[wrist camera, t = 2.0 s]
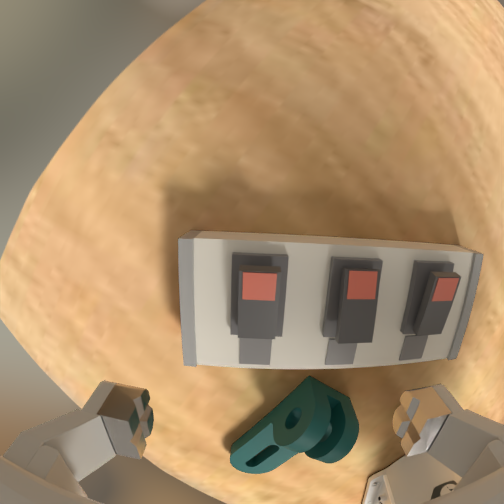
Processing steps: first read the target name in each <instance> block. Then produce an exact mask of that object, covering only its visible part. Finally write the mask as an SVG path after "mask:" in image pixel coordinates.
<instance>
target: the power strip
mask: <svg viewBox="0 0 504 504" xmlns="http://www.w3.org/2000/svg"><path fill="white" fill-rule="evenodd" d="M482 260H483V254H482V253H479V252H477V251H474V250H471V249H469V248H466V247H463V246H461V245H449V244H436V243H423V242H409V241H394V240H379V239H363V238H346V237H329V236H310V235H291V234H270V233H247V232H223V231H195V230H190V231H189V232H187V233H186V234H184V235H183V236H181V237H180V238H178V263H179V295H180V316H181V333H182V348H183V361H184V365H185V366H194V367H196V366H197V364H198V365H209V366H222V367H237V368H258V369H340V368H360V367H375V366H387V365H398V364H407V363H416V362H424V361H432V360H439V359H445V358H447V359H448V360H452V359H456V358H457V355H458V352H459V349H460V346H461V343H462V340H463V337H464V334H465V331H466V327H467V324H468V321H469V317H470V313H471V310H472V306H473V302H474V298H475V294H476V289H477V285H478V280H479V276H480V271H481V265H482ZM240 265H255V266H279V267H281V282H280V293H279V304H278V315H277V325H276V335H275V339H252V338H238V288H239V266H240ZM342 268H365V269H378V270H381V273H380V284H379V294H378V303H377V311H376V319H375V326H374V333H373V339H372V343H346V344H338V343H337V342H336V340H335V335H336V327H337V318H338V308H339V298H340V287H341V274H342ZM430 272H456V273H457V274H459V275H460V276H461V280H460V283H459V286H458V289H457V292H456V295H455V298H454V301H453V304H452V307H451V310H450V312H449V315H448V318H447V320H446V323H445V325H444V328H443V330H442V333H441V334H435V335H423V336H416V335H415V333H414V332H413V330H412V329H413V327H414V324H415V321H416V318H417V315H418V312H419V309H420V306H421V303H422V300H423V296H424V293H425V290H426V286H427V283H428V279H429V276H430Z"/></svg>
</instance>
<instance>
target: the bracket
mask: <svg viewBox="0 0 504 504" xmlns="http://www.w3.org/2000/svg"><path fill="white" fill-rule="evenodd" d="M358 433H359V422H358V419H357V417H356V414H355V411H354V409H353V406H352V404H351V401H350V398H349V397H347V396H345V395H343V394H342V393H340V392H338V391H336V390H334V389H332V388H331V387H329V386H327V385H325V384H323V383H322V382H320V381H318V380H316V379H315V378H313V377H311V376H308V377H307V378H306V379H305V380H304V381H303V382H302V383H301V384H300V385H299V386H298V387H297V388H296V389H295V390H294V391H292V392H291V393H290V394H289V395H288V396H287V397H286V398H285V399H284V400H283V401H282V402H281V403H280V404H279V405H277V406H276V407H275V408H274V409H273V410H272V411H271V412H270V413H269V414H267V415H266V416H265V417H264V418H263V419H262V420H261V421H259V422H258V423H257V424H256V425H255V426H254V427H252V428H251V429H250V430H249V431H248V432H246V433H245V434H244V435H243V436H242V437H240V438H239V439H238V440H237V441H235V442H234V443H233V445H232V447H231V454H230V463H231V464H232V466H233V467H234V468H236V469H237V470H239V471H242V472H245V473H252V474H260V473H266V472H269V471H272V470H274V469H275V468H277V467H278V466H280V465H281V464H283V463H284V462H286V461H287V460H289V459H290V458H291V457H293V456H294V455H296V454H297V453H302V452H305V454H306V455H307V456H308V457H310V458H313V459H316V460H319V461H322V462H324V463H334V462H337V461H339V460H341V459H342V458H343V457H345V456H346V455H347V454H348V453H349V452H350V450H351V449H352V448H353V446H354V444H355V442H356V440H357V437H358ZM268 446H269V447H268ZM266 447H268V448H266ZM265 448H266V449H265ZM264 449H265V450H264ZM262 450H264V451H262ZM261 451H262V452H261ZM259 452H261V453H259ZM258 453H259V454H258ZM257 454H258V455H257ZM255 455H257V456H255Z"/></svg>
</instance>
